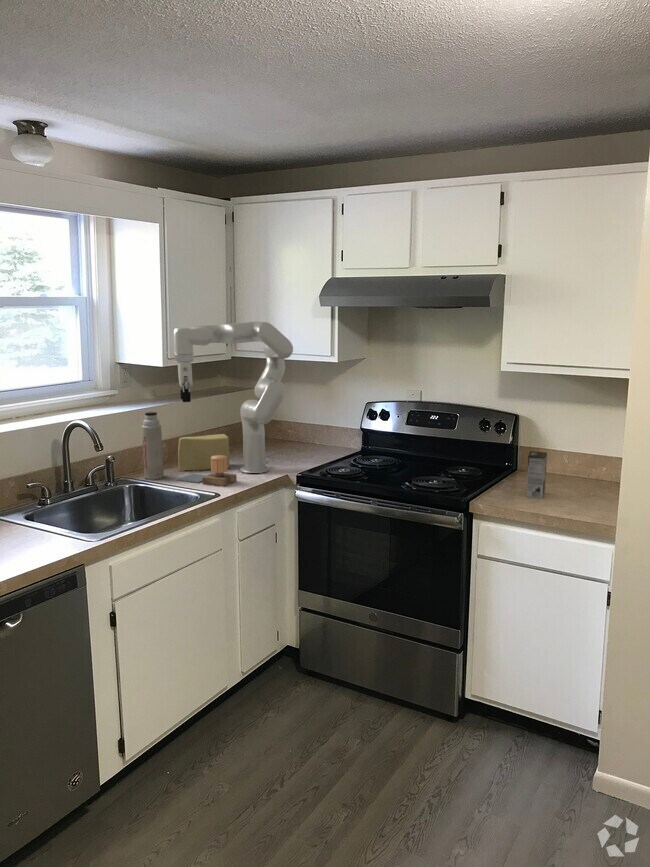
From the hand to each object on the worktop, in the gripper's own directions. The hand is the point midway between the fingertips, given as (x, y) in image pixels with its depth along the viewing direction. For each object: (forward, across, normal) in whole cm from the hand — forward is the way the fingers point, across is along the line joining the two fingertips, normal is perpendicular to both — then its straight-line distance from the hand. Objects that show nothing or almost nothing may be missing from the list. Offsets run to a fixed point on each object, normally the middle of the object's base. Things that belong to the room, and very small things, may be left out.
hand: (185, 400), depth 295 cm
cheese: (+34, +20, -8) cm, 41 cm away
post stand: (+34, -7, -12) cm, 37 cm away
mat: (+34, +2, -3) cm, 34 cm away
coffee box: (+34, -60, -126) cm, 144 cm away
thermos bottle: (+34, +11, +14) cm, 38 cm away
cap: (+29, -7, -12) cm, 32 cm away
